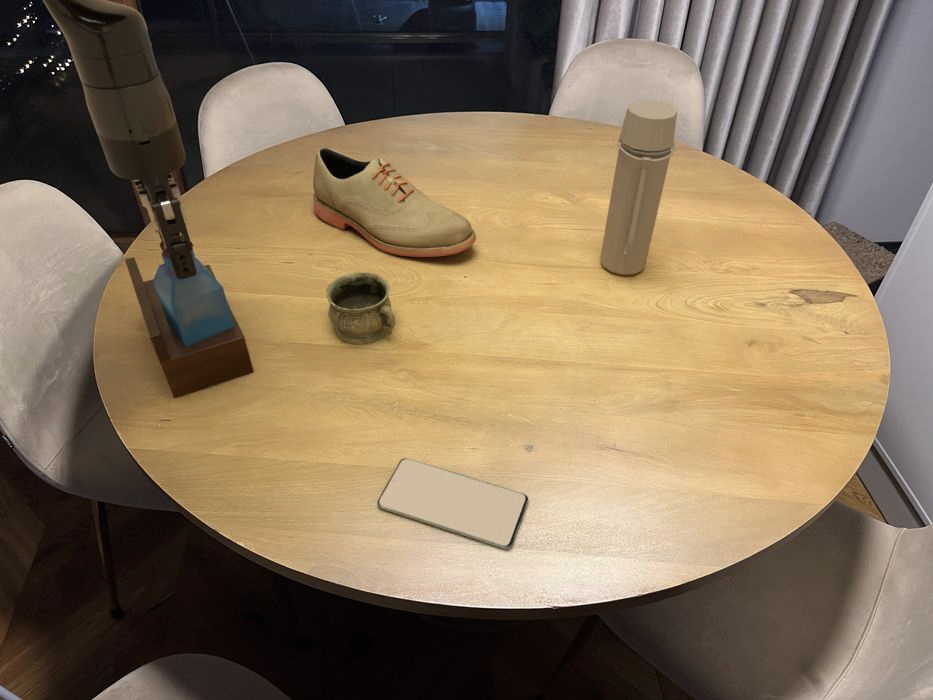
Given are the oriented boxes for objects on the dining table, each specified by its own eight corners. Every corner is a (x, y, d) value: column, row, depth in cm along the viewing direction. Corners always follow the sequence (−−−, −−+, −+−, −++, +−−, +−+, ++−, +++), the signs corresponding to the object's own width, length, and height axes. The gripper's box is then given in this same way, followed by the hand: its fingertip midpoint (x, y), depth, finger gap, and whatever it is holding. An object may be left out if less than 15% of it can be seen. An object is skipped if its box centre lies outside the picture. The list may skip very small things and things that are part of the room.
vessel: (415, 324, 95) (413, 288, 91) (375, 360, 89) (372, 323, 85) (350, 296, 100) (345, 260, 96) (308, 327, 94) (301, 291, 90)
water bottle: (597, 249, 110) (623, 96, 94) (646, 254, 109) (681, 101, 93) (595, 282, 103) (623, 123, 87) (648, 287, 102) (685, 128, 86)
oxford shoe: (454, 277, 104) (454, 210, 96) (293, 222, 115) (281, 158, 107) (488, 243, 111) (491, 178, 103) (333, 195, 122) (325, 133, 115)
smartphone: (510, 548, 68) (375, 504, 71) (510, 551, 68) (375, 507, 72) (530, 495, 73) (402, 456, 76) (529, 498, 73) (402, 459, 77)
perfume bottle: (213, 303, 88) (190, 222, 80) (234, 326, 85) (211, 245, 77) (167, 321, 86) (137, 240, 78) (186, 346, 82) (157, 264, 74)
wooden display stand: (253, 372, 87) (237, 311, 81) (174, 398, 84) (150, 337, 77) (218, 298, 99) (202, 239, 92) (147, 318, 95) (124, 259, 89)
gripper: (86, 103, 71) (134, 236, 82) (105, 157, 62) (157, 299, 72) (160, 91, 74) (197, 221, 85) (189, 141, 65) (227, 280, 75)
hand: (179, 257), depth 78 cm, fingers open, 8 cm apart
